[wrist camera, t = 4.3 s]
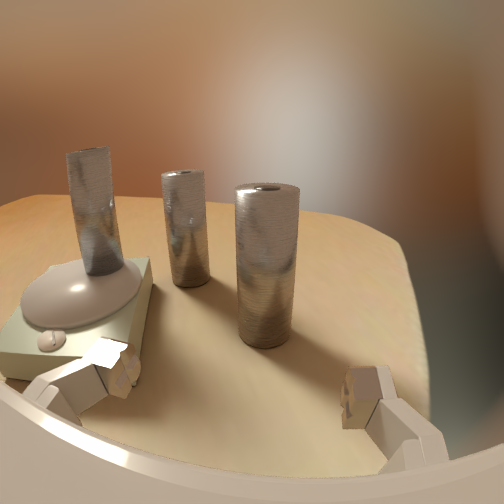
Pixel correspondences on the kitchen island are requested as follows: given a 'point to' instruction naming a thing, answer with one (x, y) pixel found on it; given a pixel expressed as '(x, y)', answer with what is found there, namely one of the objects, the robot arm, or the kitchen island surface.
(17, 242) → the kitchen island surface
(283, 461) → the kitchen island surface
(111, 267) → the cylinder
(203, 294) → the kitchen island surface
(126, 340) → the scale
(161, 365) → the kitchen island surface
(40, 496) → the robot arm
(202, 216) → the cylinder
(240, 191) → the cylinder
